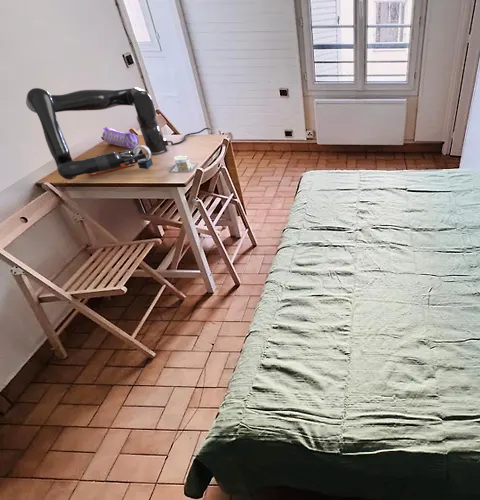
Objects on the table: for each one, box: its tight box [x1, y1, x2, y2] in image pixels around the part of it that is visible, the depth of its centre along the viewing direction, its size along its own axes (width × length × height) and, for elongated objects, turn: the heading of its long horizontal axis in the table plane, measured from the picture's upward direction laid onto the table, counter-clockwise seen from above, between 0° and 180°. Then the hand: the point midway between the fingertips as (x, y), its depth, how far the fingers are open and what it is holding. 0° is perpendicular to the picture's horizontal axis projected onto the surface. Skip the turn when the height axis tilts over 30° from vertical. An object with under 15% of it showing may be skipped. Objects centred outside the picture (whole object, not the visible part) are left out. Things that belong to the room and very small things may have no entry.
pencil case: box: [100, 126, 140, 150], centre depth 219 cm, size 22×9×10 cm, turn 63°
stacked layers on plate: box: [170, 154, 196, 173], centre depth 195 cm, size 10×9×6 cm
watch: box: [133, 144, 154, 170], centre depth 190 cm, size 6×8×11 cm
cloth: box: [89, 163, 135, 177], centre depth 199 cm, size 20×14×1 cm
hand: (143, 153), depth 190 cm, fingers closed on watch, 6 cm apart
